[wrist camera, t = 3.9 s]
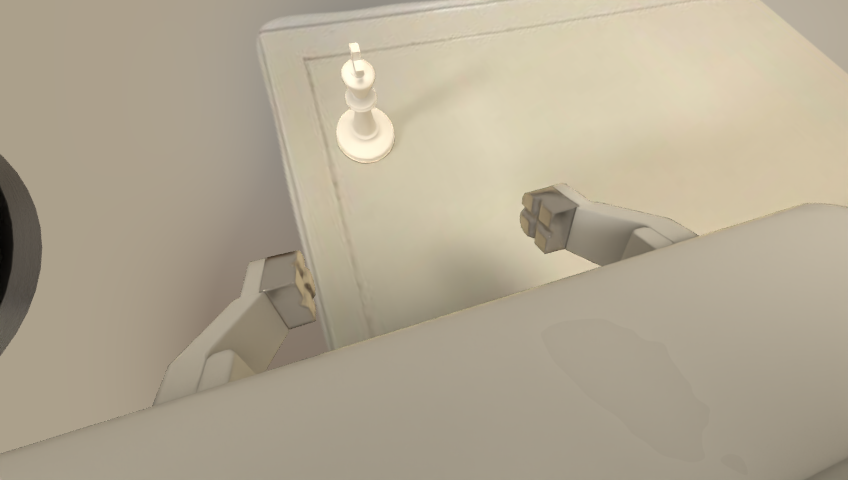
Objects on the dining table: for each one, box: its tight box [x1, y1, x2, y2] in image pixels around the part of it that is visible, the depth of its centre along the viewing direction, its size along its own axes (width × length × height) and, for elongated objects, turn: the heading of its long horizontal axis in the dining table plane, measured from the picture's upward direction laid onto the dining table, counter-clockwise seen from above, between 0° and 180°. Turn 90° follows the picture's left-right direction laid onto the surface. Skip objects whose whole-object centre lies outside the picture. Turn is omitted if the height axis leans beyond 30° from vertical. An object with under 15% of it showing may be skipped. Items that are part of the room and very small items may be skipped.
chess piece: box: [336, 43, 395, 163], centre depth 21 cm, size 5×5×10 cm
